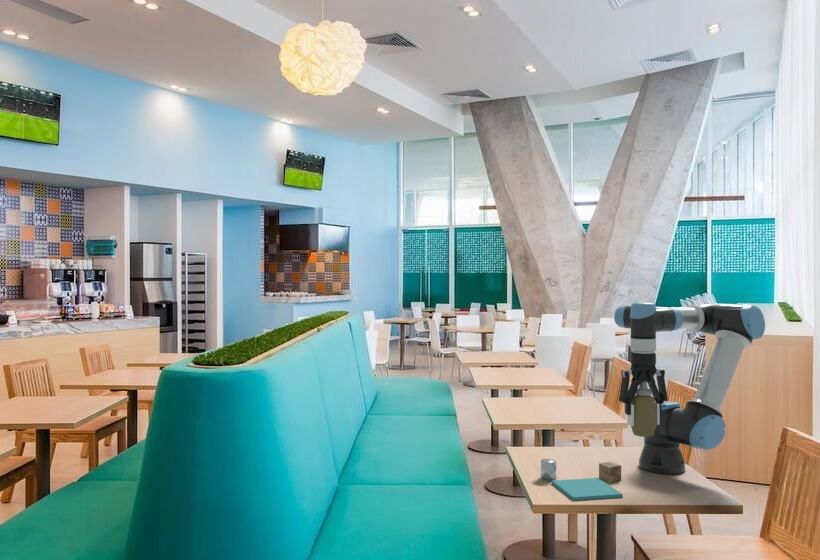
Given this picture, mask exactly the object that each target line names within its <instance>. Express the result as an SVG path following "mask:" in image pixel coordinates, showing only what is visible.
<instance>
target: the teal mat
mask: <svg viewBox="0 0 820 560" xmlns="http://www.w3.org/2000/svg"><path fill="white" fill-rule="evenodd" d="M551 485H553V486H554V487H556V488H557V489H558V490H559V491H560V492H562V493H563V494H564V495H566V496H567V497H568V498H570V499H571V500H572V499H573V500H575V501H585V500H584V499H590V500H603V499H615V498H617V499H618V498H623V493H622V492H620V491H619V490H617V489H615V488H614V487H612V485H610V484H608V483H606V481H604V480H603V479H600V478H599V477H588V478H574V479H570V478H569V479H559V480H558V479H556V480H553V481H551ZM573 500H572V501H573Z"/></svg>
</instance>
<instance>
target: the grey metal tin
mask: <svg viewBox="0 0 820 560" xmlns="http://www.w3.org/2000/svg"><path fill="white" fill-rule="evenodd" d="M540 479H541V480H542V481H544V480H545V482H552V481H553V480H557V460H555V459H554V458H553V459H552V458H542V459H541V460H540Z"/></svg>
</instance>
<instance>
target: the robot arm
mask: <svg viewBox="0 0 820 560" xmlns="http://www.w3.org/2000/svg"><path fill="white" fill-rule="evenodd" d="M656 305H657V304H655V303H654V302H633V303H632V304H630V305H621V306H618V307H617V308H616V310H615V311H614V317H613V320H614V322H615V325H616V326H618V327H619V328H623V329H630V351H631V352H630V368H629V369H627V370H624V369H623V370H621V371H620V372H621V383H620V391H619V395H618V401H619V402H621V403H623V404H624V413H625V415H626V417H627V418H626V420H627V421H626V422H627V425H629V426H630V427H631V426H634V405H632V401H633V399H634V396H635V395H636V391H637V388H639V386H640V383H641V382H644V381H646V383H647V386H648V387H649V388H648V389H650V390H651V396H652V397H653V398H654V400H655V409H656V418H657V426H656V429H655V432H654V435H653V436H651V437H643V439H644V440H643V441H644V442H643V447H642V449H641V452H640V456H639V458H638V467H639V468H640V469H643V471H647V472H651V473H654V474H664V475H677V474H678V475H679V474H682V473H685V471H686V463H685V462H686V461H685V460H684V457H683V456H684V455H683V453H682V450H681V446H680V445H685V446H689V447H692V448H695V449H698V450H706V451H709V450H710V451H711V450H713V449H716V448H718V446H719V445H720V444H721V443H722V442H723V440H724V439H725V434H726V427H727V426H726V423H725V420H724V419H723V417H724V415H723V413H722V411H721V409H722V406H723V402H724V400H725V398H726V395H727V393H728V391H729V387H730V385H731V382H732V380H733V377H734V375H735V372H736V370H737V367H738V365H739V362H740V359H741V357H742V354H743V352H744V349H747V348H750V347H751V345H752V342H753V340H757V339H758V340H759V339H761V338H762V337H763V335H764V334H765V330H766V320H765V316H764V314H763V312H762V310H761V309H760V308H759V307H758V306H756V305H753V304H746V303H743V304H741V303H740V304H738V303H722V302H721V303H720V302H718V303H716V302H715V303H704V304H690V305H687V306H685V307H677V306H676V307H675V306H672V307H669V306H665V307H664V306H656ZM680 329H681V330H685V329H686V331H689V332H694V333H695V332H697V333H703V334H707V335H713V336H715V338H716V339H717V341H716V343H715V345H714V348H713V351H712V353H711V355H710V358H709V360H708V363H707V365H706V367H705V371H704V372H703V374H702V377H701V380H700V382H699V385H698V387H697V389H696V392H695V395H694V397H693V398H692V399H690V400H687V402H686V404H685V406H684V408H681V404H680V403H679V402H678V401H677V402H676V401H668V393H667V387H666V381H665V375H666V371H665V369H662V368H657V367H656V364H657V354H656V351H657V333H658V332H674V331H678V330H680ZM631 376H632V377H631ZM655 376H656V380H655ZM630 378H631V379H630ZM630 380H631V381H630ZM630 382H631V383H630ZM656 383H657V384H656Z"/></svg>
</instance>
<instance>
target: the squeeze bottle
mask: <svg viewBox="0 0 820 560" xmlns="http://www.w3.org/2000/svg"><path fill="white" fill-rule="evenodd" d="M632 405H634V426H630V428H631V430H632V433H633V435H634V436H637V437H642V438H644V437H651V436H653V435H654V432H655V429H656V426H657V418H656V409H655V400H654V397H653V395H652V393H651V390H650V388H648V383H647V382H646V381H644V382H641V383H640V385H639V386H638V388H637V391H636V394H635V396H634V399H633V401H632Z"/></svg>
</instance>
